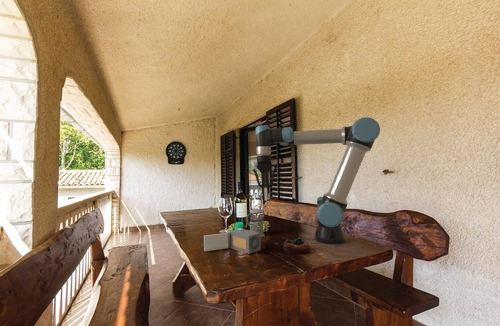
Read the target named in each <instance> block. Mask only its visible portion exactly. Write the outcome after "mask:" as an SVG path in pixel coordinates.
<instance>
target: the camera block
mask: <svg viewBox="0 0 500 326" xmlns="http://www.w3.org/2000/svg"><path fill="white" fill-rule="evenodd" d="M228 233H230V248H229V249H232V250H235V251H238V252H242V253H245V254H247V253H248V255H251V254H253V252H254V253H256V252H258V251H261V250H262V242H261V241H262V240H261V238H262V237H261V233H259V232H254V231H250V229H245V228H244V227H243V228H239V229H237V230H235V229H233V230H232V229H231V230H229V231H228ZM250 253H251V254H250Z"/></svg>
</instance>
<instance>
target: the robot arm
mask: <svg viewBox="0 0 500 326" xmlns="http://www.w3.org/2000/svg"><path fill="white" fill-rule="evenodd" d="M380 127H381V126H380V124H379V122H378V121H377V120H375V119H374V118H371V117H369V116H367V117H366V116H365V117H361V118H358V119H357V120H355V121H354V122H353V124H352V125H350V126H349V125H348V126H343V127H342V128H337V129H334V128H333V129H318V130H317V129H316V130H300V131H299V130H298V131H293V130H294V129H293V127H290V126H289V127H285V126H284V127H279V128H278V127H277V128H270V126H269V125H266V124H265V125H257V127H255V144H256V146H255V147H256V148H255V149H256V155H257V156H256V165H255V166H256V167H254V168H253V169H252V172H253V173H254V177H255V180H256V182H257V186H258V187H260V188H261V193H262V195H264V202H265V201H268V200H269V199H268V194H270V187H273V185H274V180H275V179H274V178H275V175H276V174H275V173H276V171H277V167H275V166H273V164H272V149H271V144H280V145H281V146H282V147H283V146H284V147H288V146H294V145H296V146H298V145H301V146H302V145H322V144H323V145H327V144H342V145H343V146H346V149H345V152H344V153H343V157H342V159H341V162H340V163H339V166H338V167H337V169H336V170H337V171H336V173H335V176H334V178H333V180H332V182H331V184H330V187H329V190H328V192H326V193H324V194H323V195H322V196H318V197H317V198H316V199H317V200H316V205H317V206H316V209H317V211H316V217H317V227H316V230H315V233H314V240H315V241H316V242H318V243H323V244H330V245H332V244H333V245H335V244H336V245H337V244H343V243H344V242H345V235H344V232H343V229H342V227H341V226H342V225H341V224H342V223H343V221H344V217H345V212H346V209H347V207H348V205H349V203H348V201H347V198H348V196H349V193H350V190H352V189H351V188H352V186H353V185H354V181H355V179H356V177H357V174H358V172H359V169H360V168H361V165H362V162H363V160H364V158H365V155H366V153H367V152H370V151H371V150H372V147H373V146H374V143H375V141H376V140H377V138H378V137H379V135H380V132H381V128H380ZM271 170H272V174H271V179H270V178H269V176H270V175H269V173H270V171H271ZM258 172H259V173H260V178H261V180H260V179H259V174H258ZM265 175H266V176H265ZM264 177H265V178H266V180H265V178H264ZM269 179H270V180H269ZM265 181H266V187H265Z"/></svg>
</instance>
